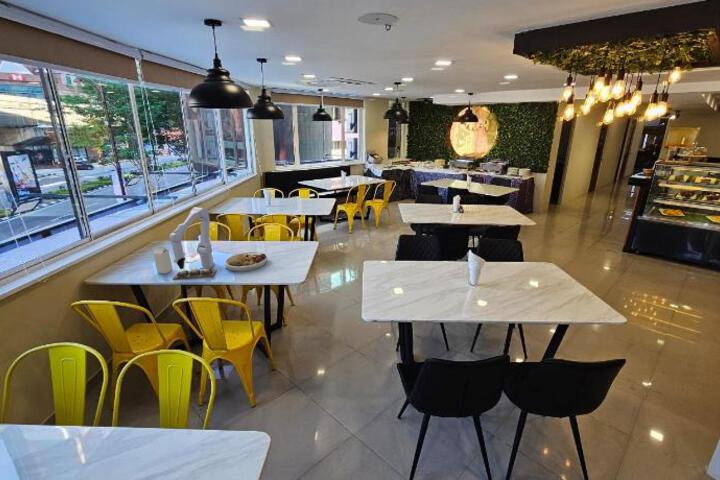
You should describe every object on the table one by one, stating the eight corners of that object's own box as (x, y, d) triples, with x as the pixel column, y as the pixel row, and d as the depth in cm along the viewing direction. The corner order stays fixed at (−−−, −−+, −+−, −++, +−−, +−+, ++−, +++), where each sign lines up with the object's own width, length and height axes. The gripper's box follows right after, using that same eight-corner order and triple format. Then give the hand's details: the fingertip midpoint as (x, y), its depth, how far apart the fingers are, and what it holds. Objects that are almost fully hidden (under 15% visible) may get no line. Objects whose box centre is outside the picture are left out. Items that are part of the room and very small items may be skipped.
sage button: (181, 273, 245) (180, 270, 245) (186, 273, 246) (186, 269, 245) (179, 275, 242) (178, 272, 241) (184, 275, 242) (184, 271, 241)
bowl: (223, 275, 244) (221, 265, 242) (227, 260, 272) (225, 251, 269) (268, 270, 252) (266, 259, 249) (267, 256, 279) (266, 246, 277)
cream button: (192, 271, 246) (192, 267, 245) (198, 270, 246) (197, 267, 245) (191, 273, 242) (190, 269, 241) (196, 272, 242) (195, 269, 242)
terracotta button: (205, 272, 247) (204, 268, 246) (210, 271, 247) (209, 268, 246) (203, 274, 243) (202, 270, 242) (208, 273, 244) (208, 270, 243)
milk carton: (166, 273, 250) (160, 248, 244) (157, 273, 252) (151, 248, 246) (173, 269, 257) (167, 245, 251) (164, 269, 258) (159, 244, 252)
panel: (179, 273, 250) (178, 269, 249) (217, 270, 252) (216, 266, 251) (173, 279, 240) (172, 275, 239) (212, 277, 242) (211, 272, 241)
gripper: (176, 246, 245) (179, 265, 249) (167, 254, 231) (171, 273, 235) (186, 246, 245) (190, 264, 250) (178, 253, 232) (182, 272, 236)
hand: (181, 268), depth 242 cm, fingers closed
